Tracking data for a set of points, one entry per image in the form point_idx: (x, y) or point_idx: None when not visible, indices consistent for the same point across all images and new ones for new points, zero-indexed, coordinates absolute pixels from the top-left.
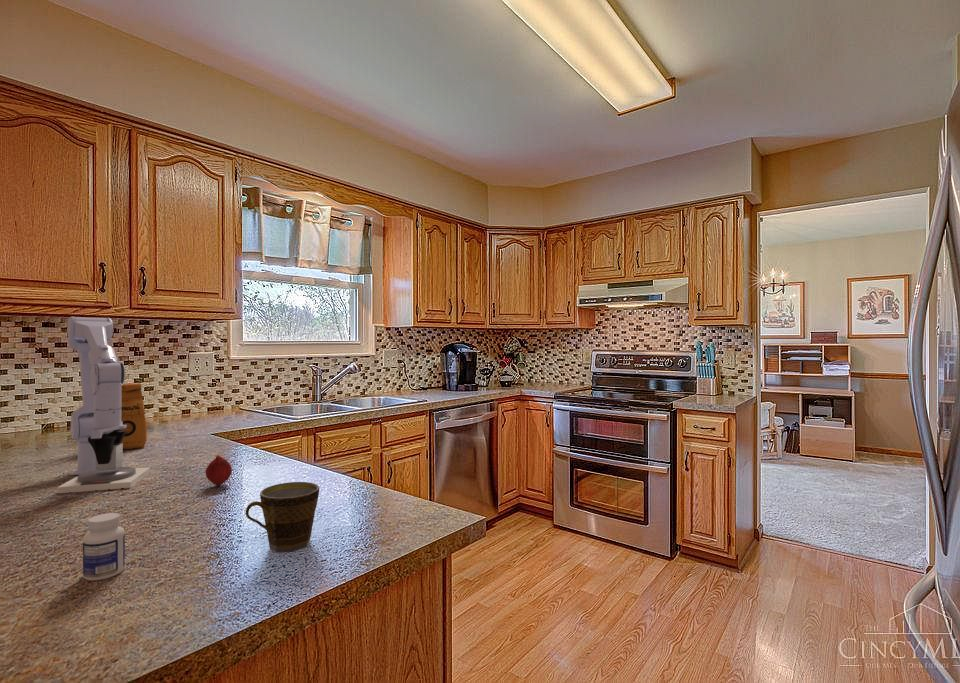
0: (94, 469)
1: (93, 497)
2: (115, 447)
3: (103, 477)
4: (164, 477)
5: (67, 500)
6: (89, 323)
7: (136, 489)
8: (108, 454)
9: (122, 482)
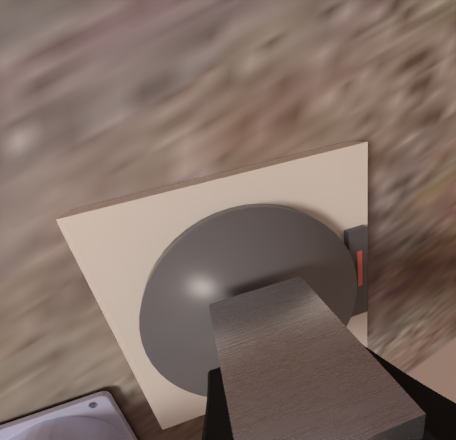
0: (109, 435)
1: (428, 206)
2: (416, 406)
3: (341, 275)
4: (170, 65)
5: (432, 262)
6: None
7: (374, 101)
8: (395, 369)
9: (367, 176)
